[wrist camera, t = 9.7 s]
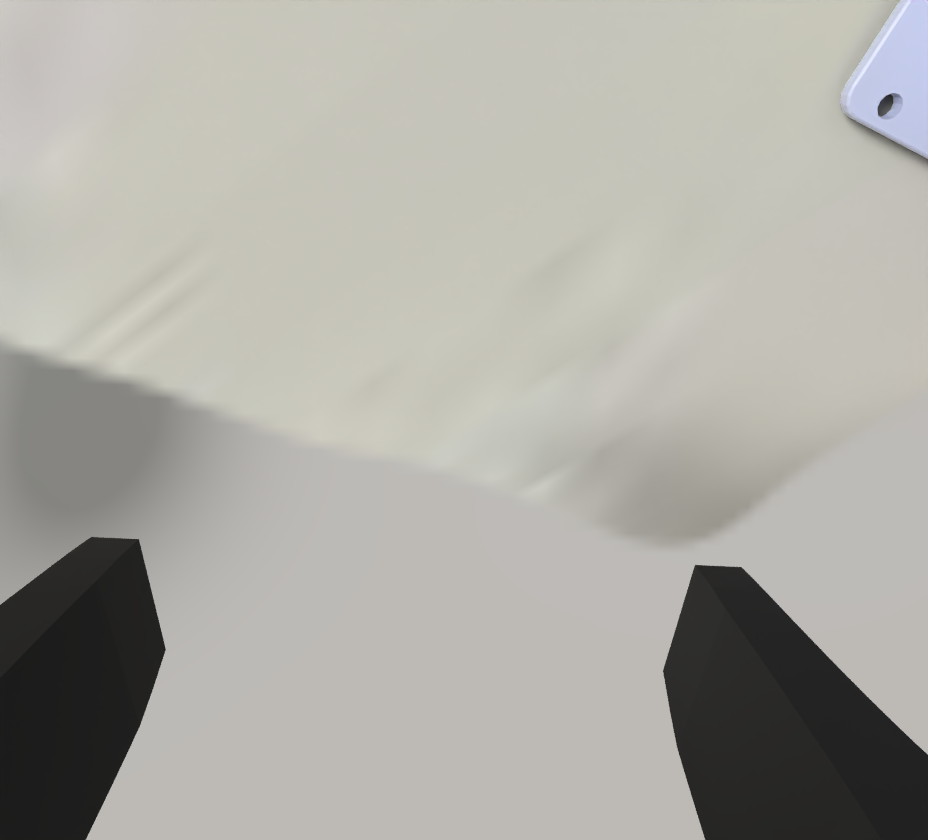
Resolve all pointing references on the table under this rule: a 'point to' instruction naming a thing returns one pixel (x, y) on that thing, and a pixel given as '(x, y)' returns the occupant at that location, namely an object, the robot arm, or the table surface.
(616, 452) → the table surface
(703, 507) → the table surface
